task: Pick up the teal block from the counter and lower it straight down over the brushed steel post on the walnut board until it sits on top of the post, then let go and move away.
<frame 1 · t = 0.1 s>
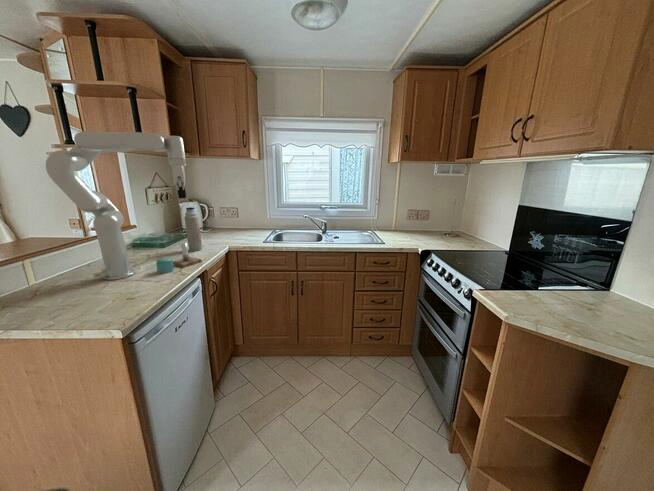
hand: (182, 197, 137), 37 cm above the countertop, tool pointing down, fingers open, 9 cm apart
post board: (186, 263, 150), on the countertop
teal block: (166, 270, 139), on the countertop
post: (185, 252, 149), on the post board, point 6 cm above the countertop
thermos bottle: (195, 250, 177), on the countertop
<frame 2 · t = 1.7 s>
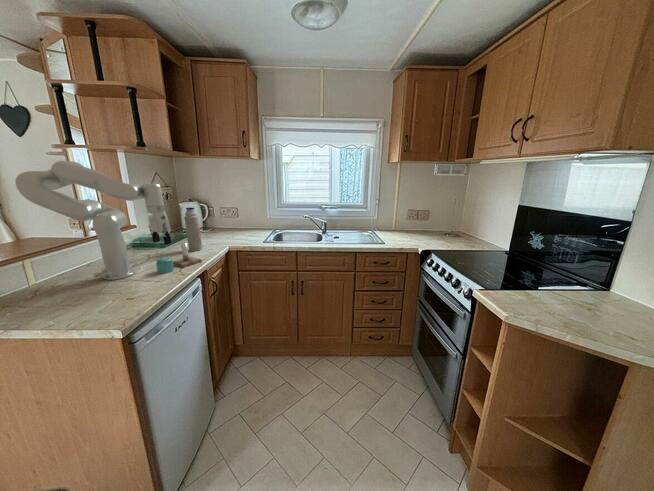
hand: (162, 242, 135), 15 cm above the countertop, tool pointing down, fingers open, 9 cm apart
nothing on the countertop moved.
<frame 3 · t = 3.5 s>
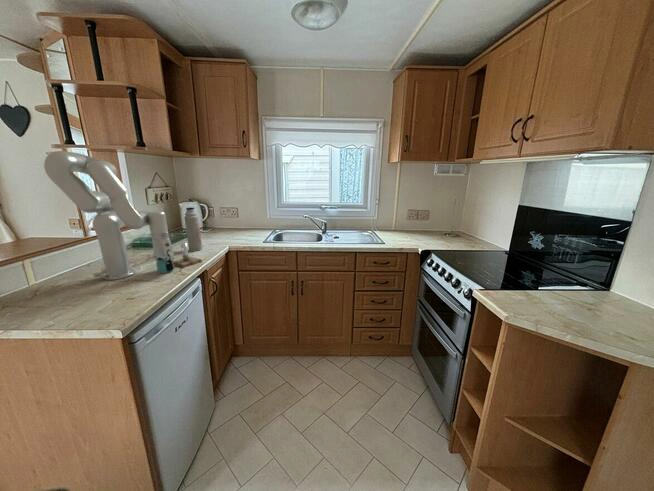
hand: (165, 269, 138), 1 cm above the countertop, tool pointing down, fingers closed on teal block, 6 cm apart
teal block: (166, 270, 139), on the countertop, touching gripper
everything else where it was.
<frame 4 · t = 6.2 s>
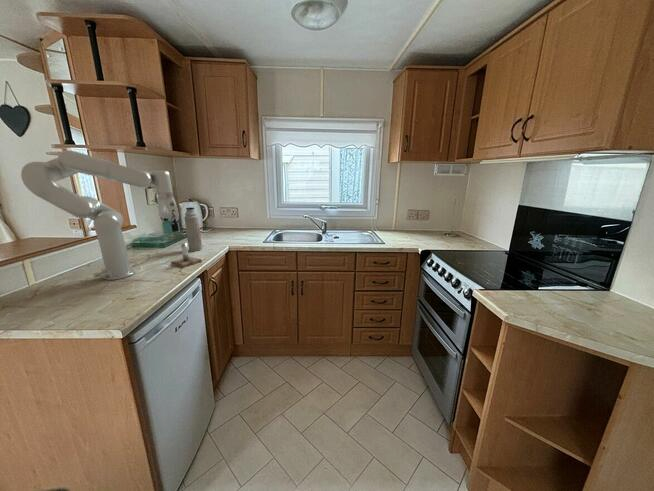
hand: (171, 230, 139), 20 cm above the countertop, tool pointing down, fingers closed on teal block, 6 cm apart
teal block: (172, 232, 139), point 19 cm above the countertop, touching gripper
everything else where it was.
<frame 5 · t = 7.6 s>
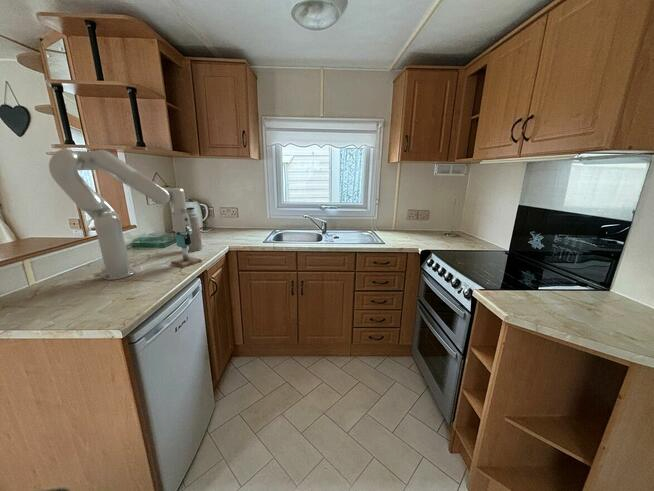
hand: (184, 243, 147), 12 cm above the countertop, tool pointing down, fingers closed on teal block, 6 cm apart
teal block: (184, 245, 148), point 11 cm above the countertop, touching gripper
everything else where it was.
when the fingers open (8 cm above the countertop, at t = 8.9 s): teal block stays where it is, resting on post.
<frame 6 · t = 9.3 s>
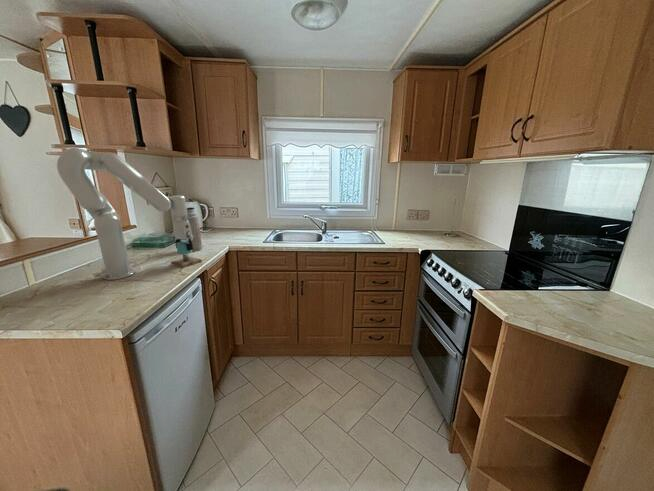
hand: (184, 249, 148), 8 cm above the countertop, tool pointing down, fingers open, 9 cm apart
teal block: (185, 252, 149), point 6 cm above the countertop, touching post
everything else where it was.
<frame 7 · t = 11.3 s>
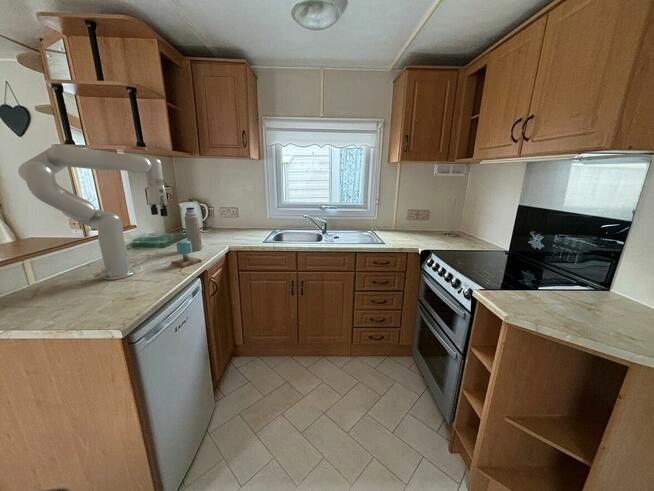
hand: (159, 215, 144), 27 cm above the countertop, tool pointing down, fingers open, 9 cm apart
nothing on the countertop moved.
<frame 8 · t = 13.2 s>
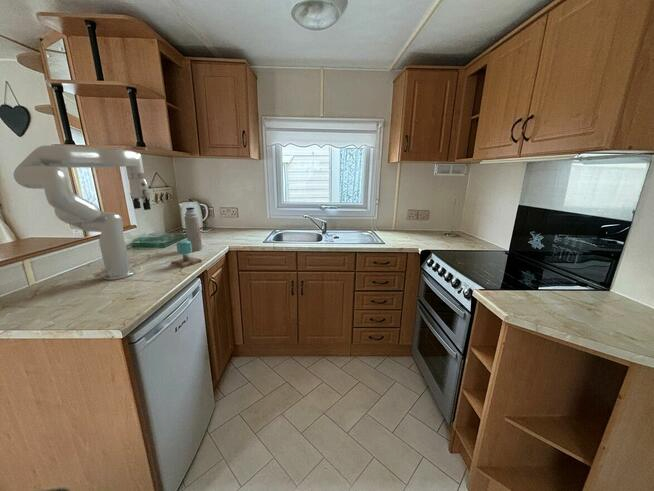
hand: (142, 209, 145), 30 cm above the countertop, tool pointing down, fingers open, 9 cm apart
nothing on the countertop moved.
at the end: teal block 0.0 cm from the post (horizontally); teal block point 6.3 cm above the countertop; teal block tilted 0° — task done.
